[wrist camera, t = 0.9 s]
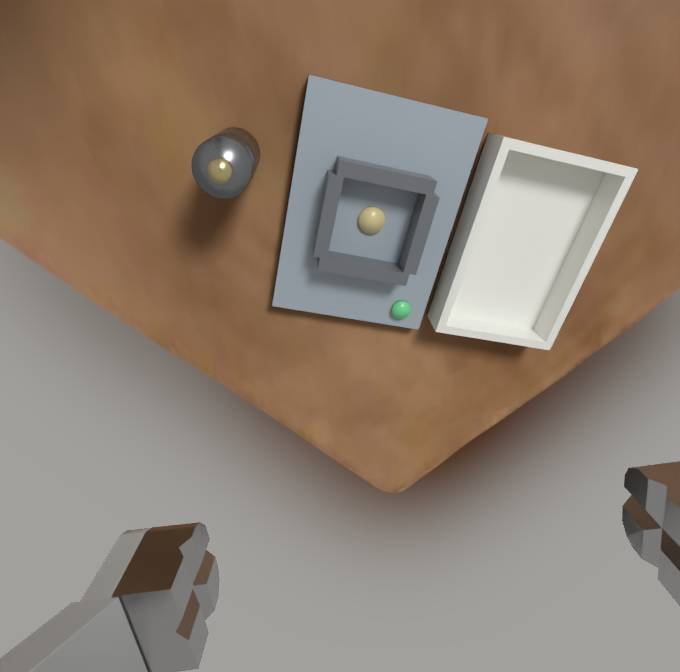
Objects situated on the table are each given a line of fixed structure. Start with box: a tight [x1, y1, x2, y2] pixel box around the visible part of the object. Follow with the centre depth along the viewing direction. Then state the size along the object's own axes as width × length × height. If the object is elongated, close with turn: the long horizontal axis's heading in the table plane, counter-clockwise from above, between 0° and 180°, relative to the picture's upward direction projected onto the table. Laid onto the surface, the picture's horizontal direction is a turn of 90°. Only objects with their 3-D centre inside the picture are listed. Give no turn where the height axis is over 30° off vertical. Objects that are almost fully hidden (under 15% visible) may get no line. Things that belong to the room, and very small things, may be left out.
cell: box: [192, 127, 260, 199], centre depth 35 cm, size 4×4×9 cm
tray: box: [427, 133, 638, 350], centre depth 44 cm, size 18×12×4 cm
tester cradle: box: [272, 75, 488, 330], centre depth 41 cm, size 20×15×4 cm
